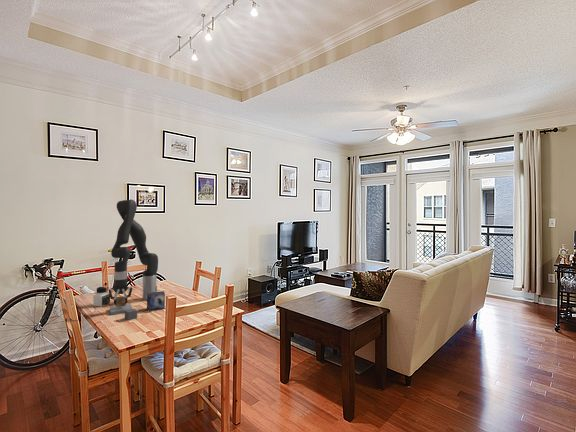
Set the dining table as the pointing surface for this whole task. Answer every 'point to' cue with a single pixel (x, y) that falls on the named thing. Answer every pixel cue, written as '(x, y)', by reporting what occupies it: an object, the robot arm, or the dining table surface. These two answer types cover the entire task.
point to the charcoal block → (130, 314)
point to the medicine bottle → (101, 297)
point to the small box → (155, 300)
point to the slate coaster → (119, 309)
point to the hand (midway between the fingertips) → (120, 304)
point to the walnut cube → (120, 301)
